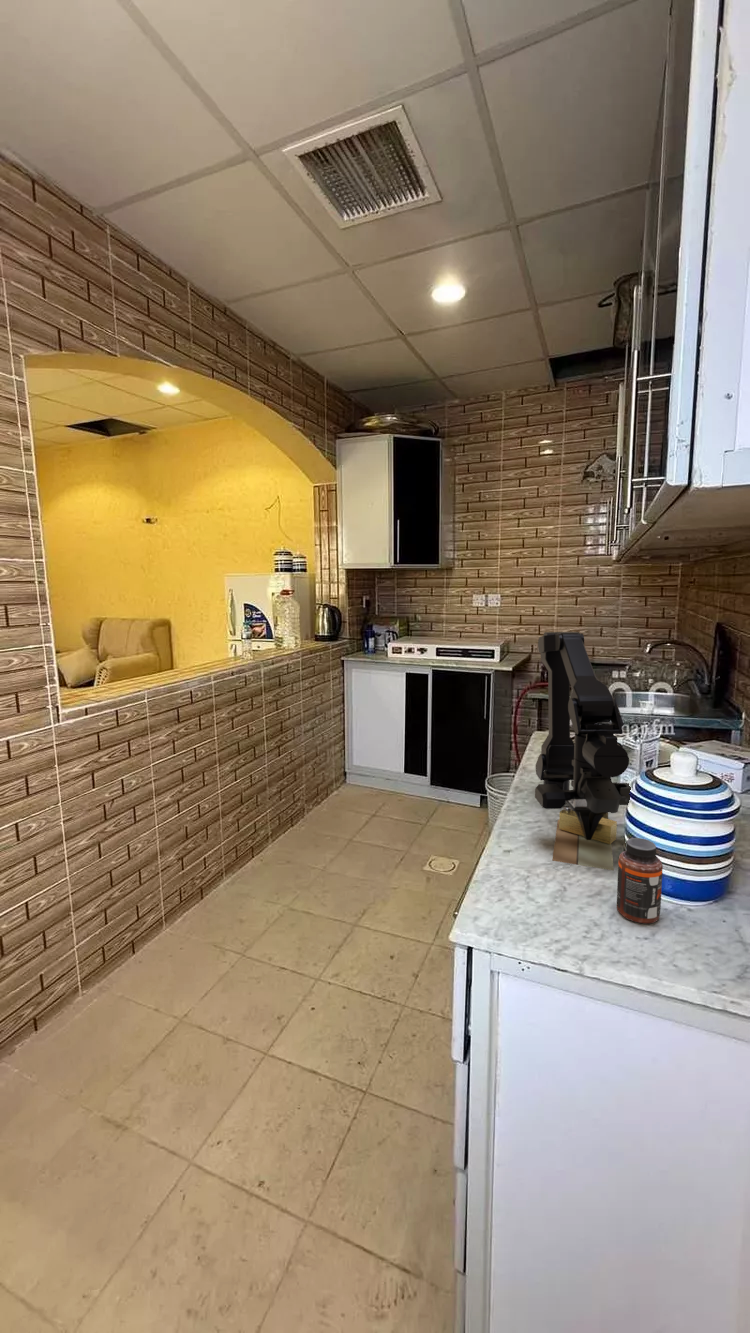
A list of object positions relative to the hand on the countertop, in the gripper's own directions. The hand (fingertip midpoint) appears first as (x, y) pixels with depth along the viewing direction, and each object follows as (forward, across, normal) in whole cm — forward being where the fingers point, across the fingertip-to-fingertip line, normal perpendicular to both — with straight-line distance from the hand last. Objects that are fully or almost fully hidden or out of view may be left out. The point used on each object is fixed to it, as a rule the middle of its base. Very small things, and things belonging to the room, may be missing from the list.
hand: (587, 839), depth 99 cm
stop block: (+1, +5, +7) cm, 9 cm away
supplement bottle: (+3, 0, -20) cm, 20 cm away
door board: (+2, -1, +1) cm, 3 cm away
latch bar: (+1, +1, +4) cm, 4 cm away
